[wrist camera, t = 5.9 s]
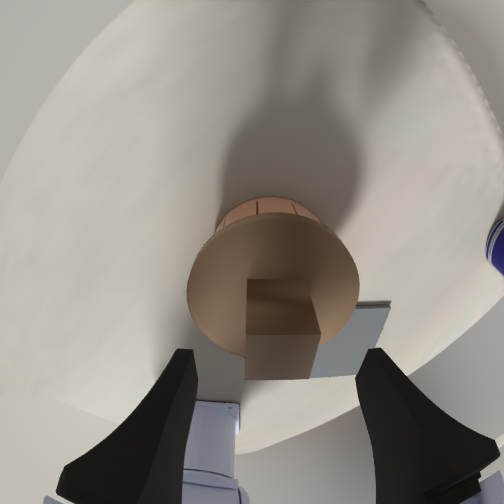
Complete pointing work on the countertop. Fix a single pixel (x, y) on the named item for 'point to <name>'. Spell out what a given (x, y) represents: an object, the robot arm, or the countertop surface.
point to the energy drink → (496, 248)
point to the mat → (351, 343)
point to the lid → (273, 292)
